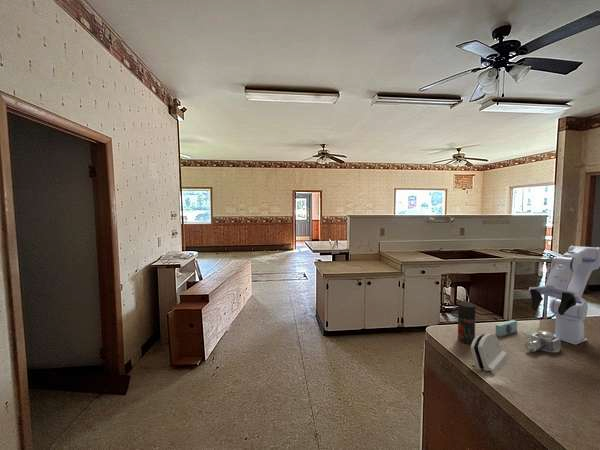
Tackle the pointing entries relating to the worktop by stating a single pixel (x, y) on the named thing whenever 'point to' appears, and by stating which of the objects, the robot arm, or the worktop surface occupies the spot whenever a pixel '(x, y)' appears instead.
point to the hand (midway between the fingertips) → (546, 311)
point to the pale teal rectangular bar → (506, 328)
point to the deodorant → (466, 322)
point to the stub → (549, 337)
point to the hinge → (488, 353)
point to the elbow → (542, 343)
